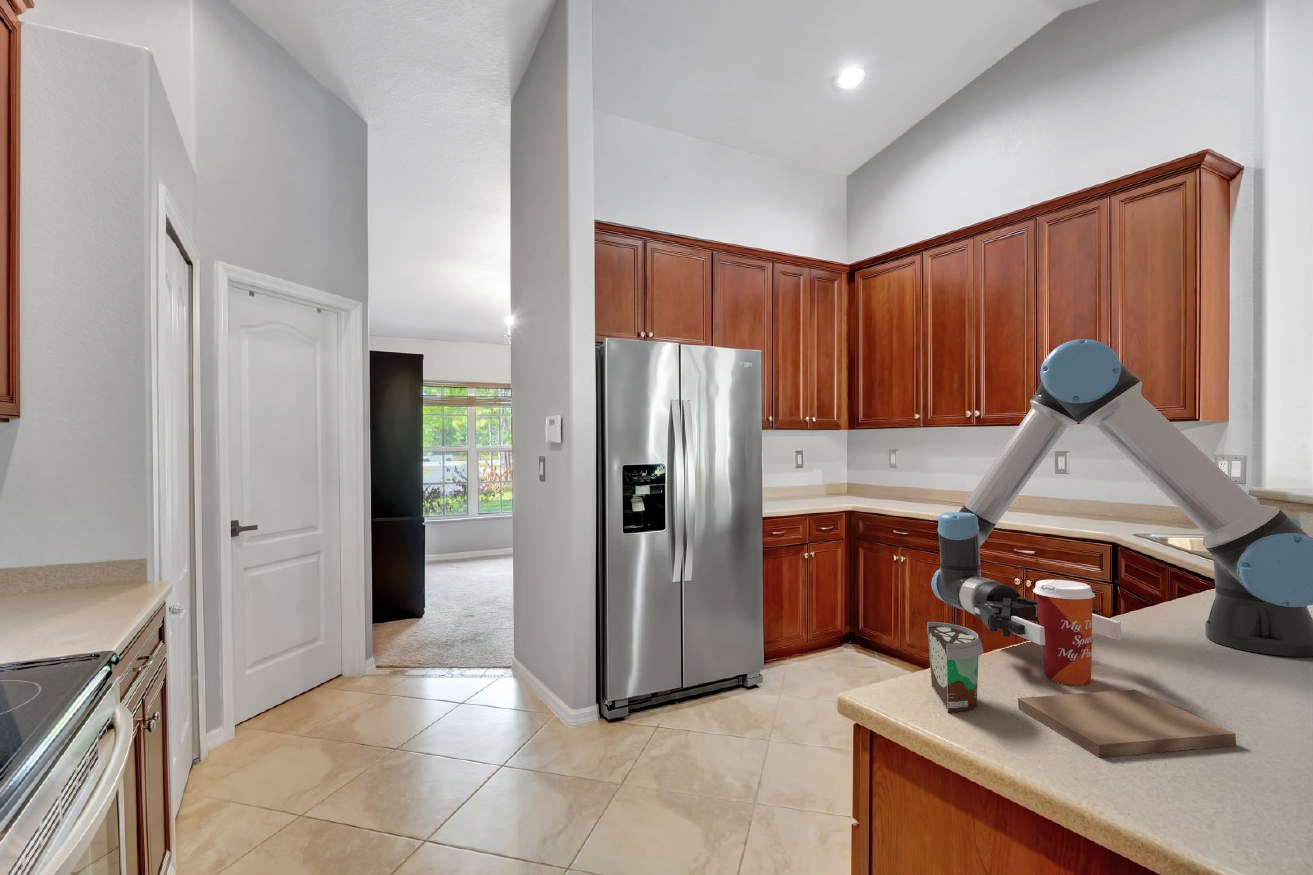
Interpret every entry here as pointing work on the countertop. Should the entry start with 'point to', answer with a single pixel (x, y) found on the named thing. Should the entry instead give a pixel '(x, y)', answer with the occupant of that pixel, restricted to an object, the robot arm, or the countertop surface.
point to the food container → (954, 665)
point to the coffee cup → (1066, 630)
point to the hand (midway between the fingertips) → (1081, 633)
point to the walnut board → (1124, 723)
